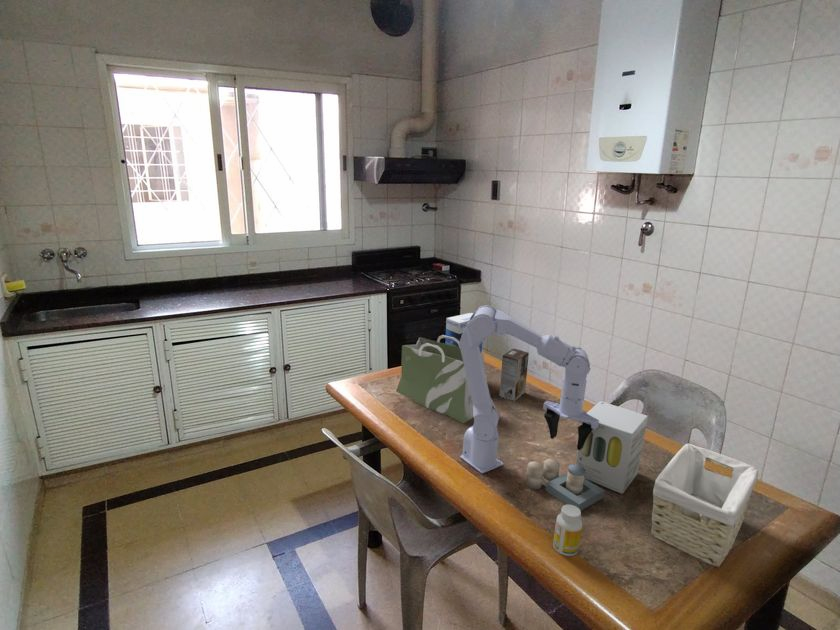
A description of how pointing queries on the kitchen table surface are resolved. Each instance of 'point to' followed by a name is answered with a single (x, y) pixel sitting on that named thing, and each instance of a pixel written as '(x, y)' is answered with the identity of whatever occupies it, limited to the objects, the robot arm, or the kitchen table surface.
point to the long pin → (575, 479)
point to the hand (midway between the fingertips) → (566, 442)
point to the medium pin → (534, 475)
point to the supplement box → (613, 446)
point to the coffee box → (513, 374)
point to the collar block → (581, 501)
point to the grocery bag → (437, 378)
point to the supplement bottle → (568, 530)
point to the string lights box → (457, 328)
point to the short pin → (551, 469)
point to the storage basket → (701, 503)
